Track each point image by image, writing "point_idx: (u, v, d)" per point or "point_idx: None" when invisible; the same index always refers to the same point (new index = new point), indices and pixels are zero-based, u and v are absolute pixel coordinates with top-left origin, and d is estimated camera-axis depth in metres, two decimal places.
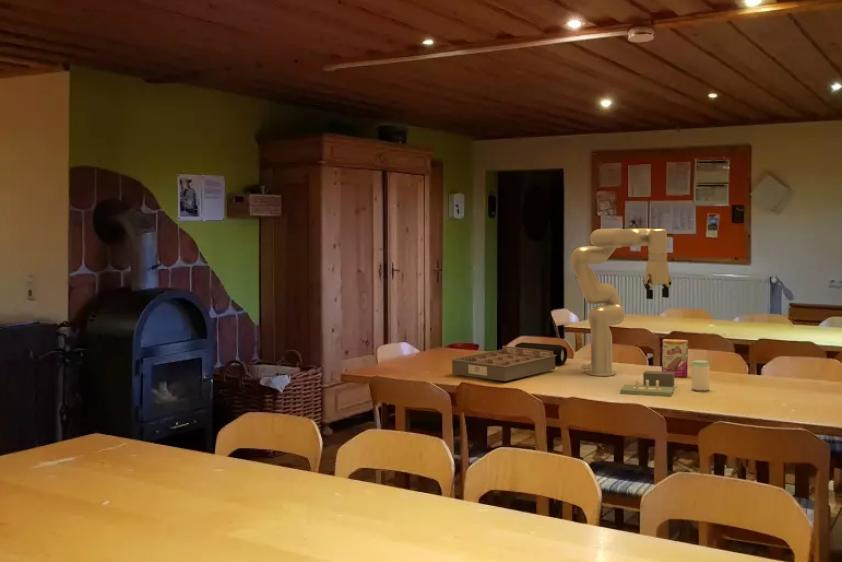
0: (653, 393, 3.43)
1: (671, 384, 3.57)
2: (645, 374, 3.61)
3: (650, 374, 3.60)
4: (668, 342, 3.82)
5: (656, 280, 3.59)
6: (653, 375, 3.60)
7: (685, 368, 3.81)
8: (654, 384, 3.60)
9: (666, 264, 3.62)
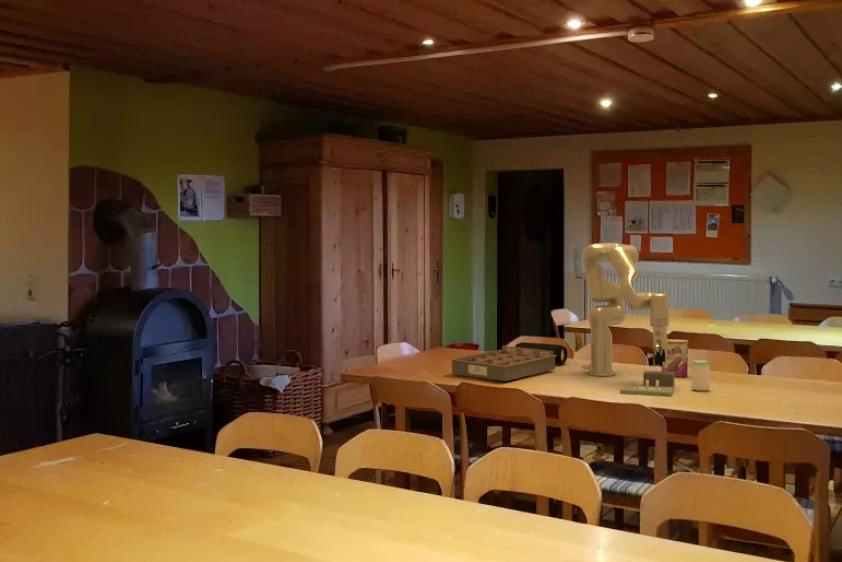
0: (653, 393, 3.43)
1: (671, 384, 3.57)
2: (645, 374, 3.61)
3: (650, 374, 3.60)
4: (668, 342, 3.82)
5: None
6: (653, 375, 3.60)
7: (685, 368, 3.81)
8: (654, 384, 3.60)
9: (653, 330, 3.58)
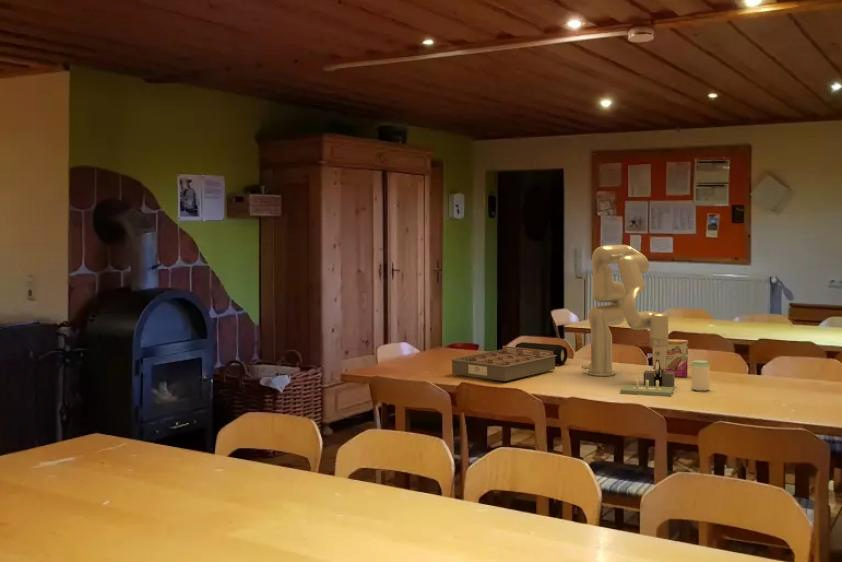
0: (653, 393, 3.43)
1: (671, 384, 3.57)
2: (645, 374, 3.61)
3: (650, 374, 3.60)
4: (668, 342, 3.82)
5: None
6: (653, 375, 3.60)
7: (685, 368, 3.81)
8: None
9: None
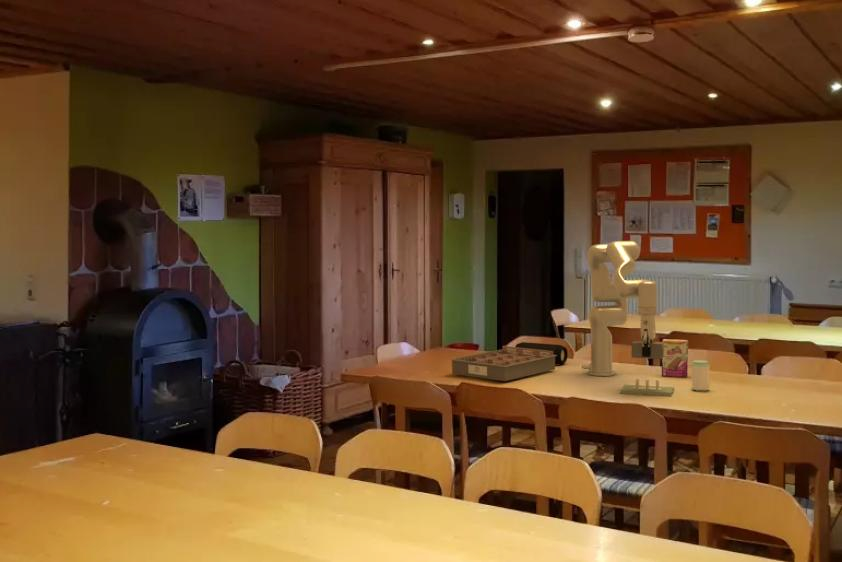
0: (653, 393, 3.43)
1: (660, 354, 3.44)
2: (633, 344, 3.48)
3: (638, 344, 3.47)
4: (668, 342, 3.82)
5: None
6: (641, 345, 3.47)
7: (685, 368, 3.81)
8: None
9: None
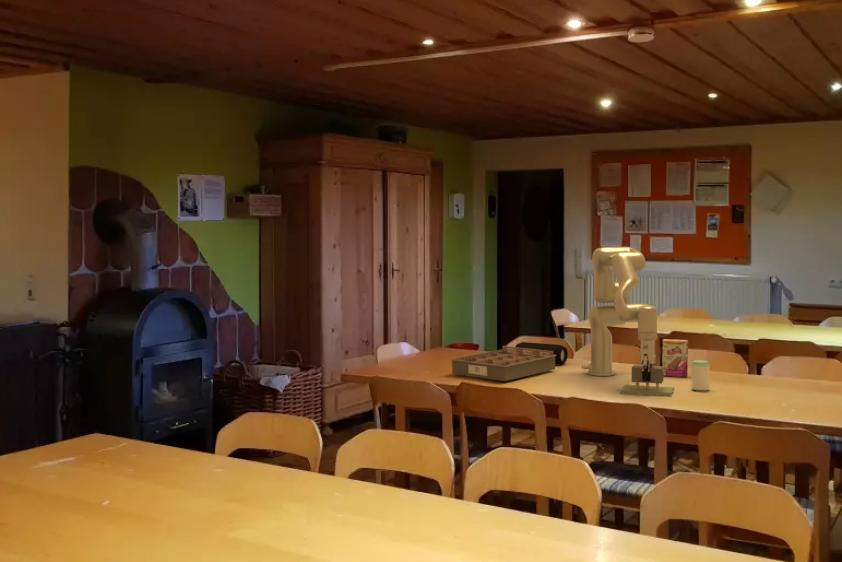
0: (653, 393, 3.43)
1: (660, 379, 3.45)
2: (633, 368, 3.49)
3: (638, 368, 3.48)
4: (668, 342, 3.82)
5: None
6: (641, 369, 3.47)
7: (685, 368, 3.81)
8: None
9: None
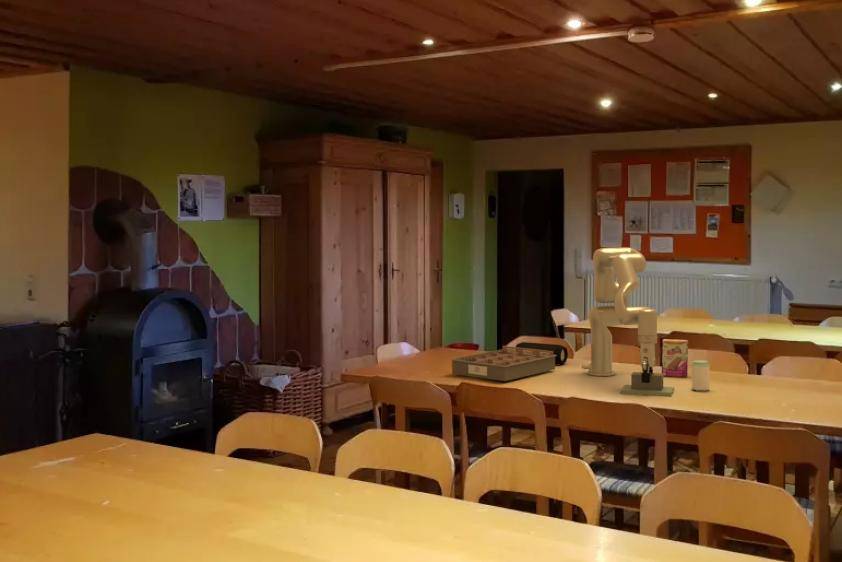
0: (653, 393, 3.43)
1: (660, 386, 3.45)
2: (633, 375, 3.49)
3: (638, 375, 3.48)
4: (668, 342, 3.82)
5: None
6: (641, 376, 3.48)
7: (685, 368, 3.81)
8: (642, 386, 3.48)
9: None
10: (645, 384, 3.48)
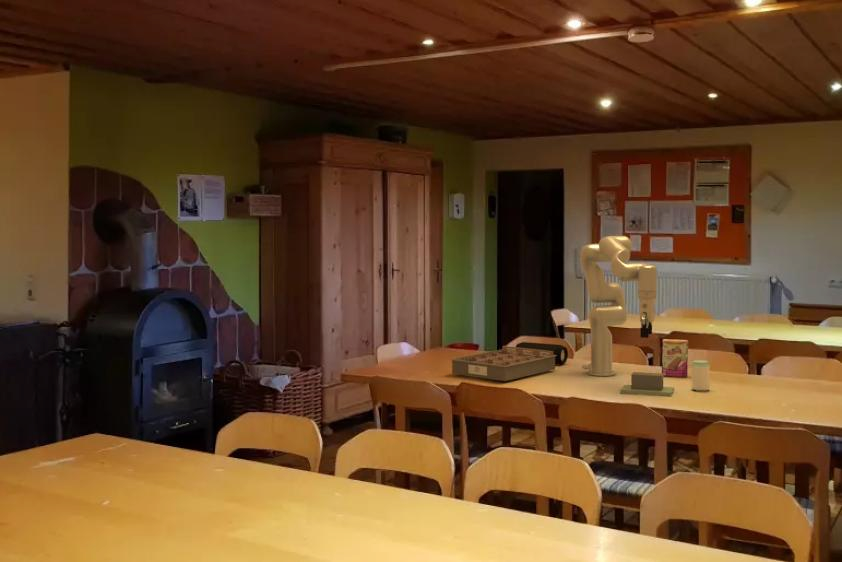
0: (653, 393, 3.43)
1: (660, 386, 3.45)
2: (633, 375, 3.49)
3: (638, 375, 3.48)
4: (668, 342, 3.82)
5: None
6: (641, 376, 3.48)
7: (685, 368, 3.81)
8: (642, 386, 3.48)
9: (640, 302, 3.53)
10: (645, 384, 3.48)
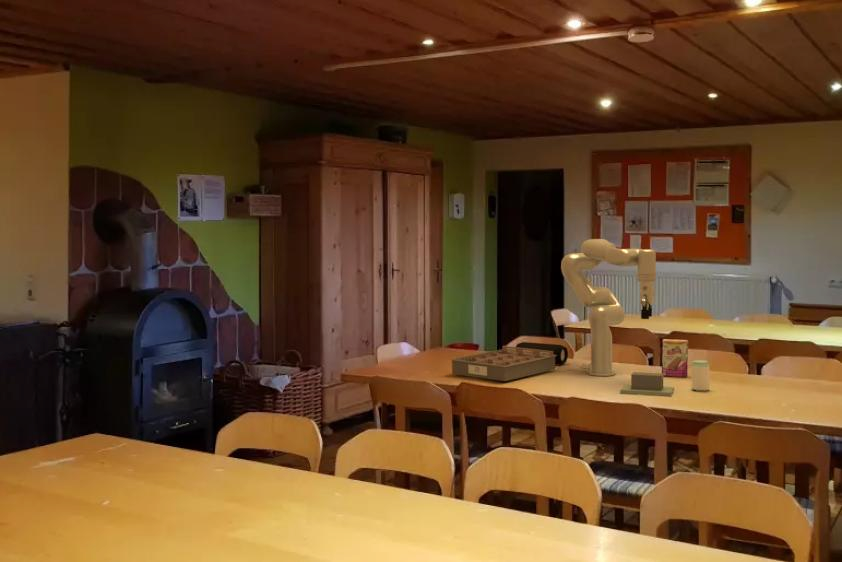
0: (653, 393, 3.43)
1: (660, 386, 3.45)
2: (633, 375, 3.49)
3: (638, 375, 3.48)
4: (668, 342, 3.82)
5: None
6: (641, 376, 3.48)
7: (685, 368, 3.81)
8: (642, 386, 3.48)
9: (640, 285, 3.66)
10: (645, 384, 3.48)
